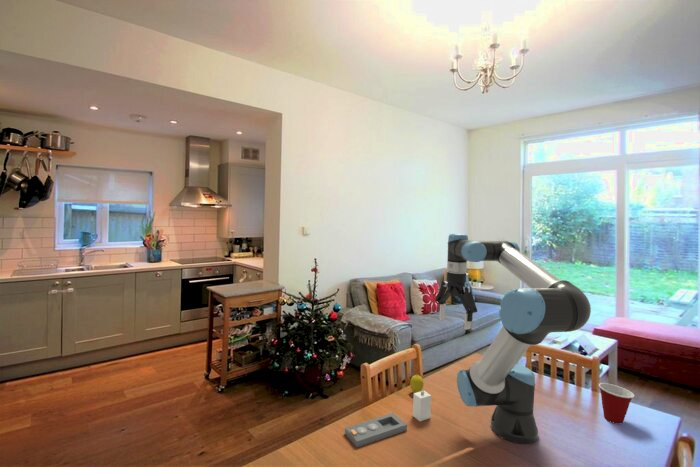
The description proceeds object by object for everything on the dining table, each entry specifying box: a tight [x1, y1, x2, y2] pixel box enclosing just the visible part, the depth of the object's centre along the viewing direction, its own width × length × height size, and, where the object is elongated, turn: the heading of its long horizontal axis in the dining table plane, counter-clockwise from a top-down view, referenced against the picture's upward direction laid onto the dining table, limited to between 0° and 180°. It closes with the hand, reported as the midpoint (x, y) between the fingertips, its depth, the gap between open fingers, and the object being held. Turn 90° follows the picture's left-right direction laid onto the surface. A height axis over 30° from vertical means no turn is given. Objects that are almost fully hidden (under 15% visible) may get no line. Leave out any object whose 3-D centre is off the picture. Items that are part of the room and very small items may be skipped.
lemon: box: [409, 374, 424, 393], centre depth 148 cm, size 6×6×8 cm
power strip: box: [344, 412, 408, 448], centre depth 119 cm, size 8×20×4 cm, turn 119°
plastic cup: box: [598, 382, 635, 424], centre depth 132 cm, size 11×11×12 cm
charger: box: [412, 390, 432, 422], centre depth 129 cm, size 4×5×10 cm
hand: (454, 324), depth 141 cm, fingers open, 13 cm apart
